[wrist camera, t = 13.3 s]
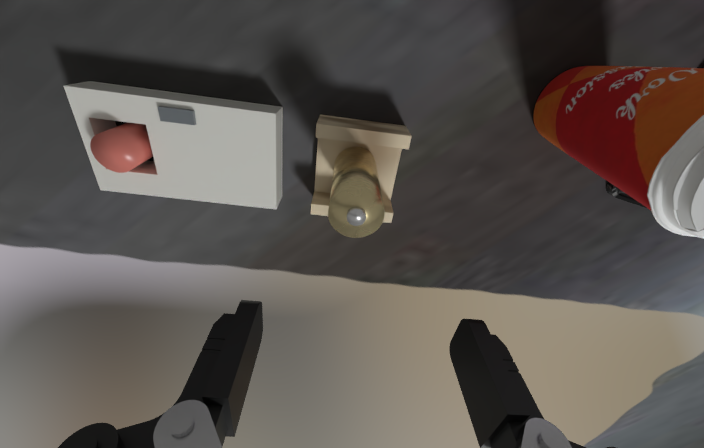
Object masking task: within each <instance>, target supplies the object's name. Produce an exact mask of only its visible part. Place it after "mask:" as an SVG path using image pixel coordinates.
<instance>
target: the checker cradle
mask: <svg viewBox="0 0 704 448" xmlns="http://www.w3.org/2000/svg"><path fill="white" fill-rule="evenodd" d="M64 89H65V92H66V94H67V97H68V100H69V103H70V106H71V108H72V111H73V114H74V117H75V120H76V123H77V125H78V128H79V131H80V134H81V137H82V139H83V142H84V145H85V148H86V151H87V154H88V156H89V159H90V162H91V165H92V168H93V170H94V173H95V176H96V179H97V182H98V185H99V187H100V190H105V191H114V192H123V193H132V194H141V195H150V196H159V197H168V198H177V199H187V200H196V201H205V202H214V203H223V204H232V205H241V206H250V207H259V208H268V209H277V207H278V205H279V202H280V200H281V198H282V130H283V107H280V106H273V105H266V104H258V103H251V102H243V101H236V100H228V99H221V98H213V97H206V96H198V95H191V94H183V93H176V92H169V91H161V90H154V89H146V88H139V87H131V86H124V85H116V84H109V83H101V82H94V81H87V82H82V83H76V84H70V85H64ZM115 121H121V122H129V123H137V124H145V125H146V128H147V132H148V136H149V140H150V145H151V149H152V153H153V157H154V161H145V162H143V163H142V164H140V165H138V166H137V167H135V168H133V169H132V170H130V171H128V172H125V173H118V172H114V171H111V170H109V169H107V168H105V167H104V166H102V165H101V164H100V163H99V162H98V161H97V160H96V158H95V157H94V155H93V154H92V151H91V147H90V143H91V139H92V138H93V137H94V136H95V135H96V134H99V133H101V132H104V131H106V130H109V129H112V128H114V127H117V126H116V123H115Z"/></svg>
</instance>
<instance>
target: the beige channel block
mask: <svg viewBox="0 0 704 448" xmlns="http://www.w3.org/2000/svg"><path fill="white" fill-rule="evenodd" d="M411 137H412V136H411V134H410V133H409V131H408V129H407V128H406V126H403V125H396V124H388V123H381V122H373V121H366V120H358V119H351V118H343V117H336V116H328V115H321V114H320V116H319V119H318V121H317V124H316V138H318V145H317V160H316V175H315V189H314V195H313V199H312V203H311V214H314V215H323V216H328V209H329V201H330V194H331V187H332V179H333V172H334V165H335V160H336V158H337V156H338V155H339V153H340V152H341V151H343V150H344V149H346V148H349V147H355V146H356V147H362V148H365V149H367V150H368V151H369V152H370V153H371V154H372V155H373V156H374V158H375V161H376V166H377V172H378V178H379V183H380V189H381V194H382V200H383V205H384V211H385V215H384V220H383V222H387V223H391V222H392V217H393V209H392V205H391V201H390V200H391V195H392V191H393V186H394V182H395V177H396V173H397V168H398V164H399V159H400V155H401V150H402V149H409V145H410V141H411Z"/></svg>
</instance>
